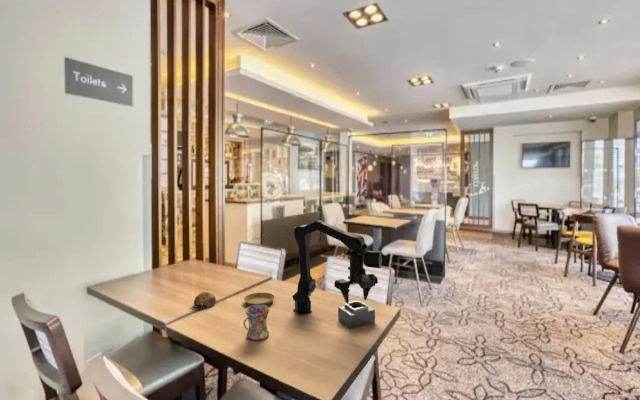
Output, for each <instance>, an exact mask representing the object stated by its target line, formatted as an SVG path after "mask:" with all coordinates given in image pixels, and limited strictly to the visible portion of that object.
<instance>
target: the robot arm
mask: <svg viewBox="0 0 640 400" xmlns="http://www.w3.org/2000/svg"><path fill="white" fill-rule="evenodd" d="M316 231H318V232H320V233H323V234H325V235H327V236H328V237H331V238H333V239H335V240H337V241H340V242H341V243H342V244H344V246H345V247H346V248H348V249H347V251H345V253H344V255H345V256H349V266H348V267H347V270H349V276H347V280H346V279H344V278H340V279H335V281H334V282H333V285H334V288H336V289H337V290H339V291H340V292H341V295H342V297H343V298H344V299H343V300H344V301H345V303H347V304H348V303H349V298H350V296H349V293H350V291H351V290H350V289H349V288H350V286H353V285H359V287H360V289H362V292H363V300H365V301H366V300H367V298H368V296H369V293H370V291H371V289H372V288H373V287H375V286H376V285H377V284H379V279H378V277H377V276H376V275H375V274H374V273H366V272H367V270H366V268H373V269H381V268H382V264H383V258H382V253H381V251H380V250H376V251H375V250H374V251H373V250H370V248H369V247H368V245H367V244H366V243H365V238H364V237H363V235H360V234H356V233H352V232H348V231H347V232H346V231H344V230H342V229H340V228H338V227H335V226H334V225H331V224H329V223H327V222H325V221H324V220H321V219H319V220H315V221H313V222H311V223H310V224H301V225H299V226H296V227H295V228H294V230H293V235H294V239H295V242H296V244H297V246H298V258H299V259H298V260H299V261H298V262H299V275H300V276H299V280H298V283H297V291H296V292H295V293H294V294H293V295H292V300H293V301H294V308H293V311H294V312H295V313H296V314H297V315H299V316H300V315H305V314H310V313H312V301H311V298H310V296H312V293H313V292H315V289H316V288H317V286H316V278H313V277H312V275H311V260H310V259H311V258H310V242H311V239H312V233H313V232H316ZM364 266H365V267H366V268H365V267H364Z"/></svg>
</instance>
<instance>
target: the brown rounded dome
mask: <svg viewBox="0 0 640 400" xmlns="http://www.w3.org/2000/svg"><path fill="white" fill-rule="evenodd" d="M216 300H217V299H216V296H215V294H213V293H212V292H210V291H202V292H199V293H198V295H196V296H195V298H194V300H193V305H194V307H195V306H196V307H199V308H198V309H201V308H200V307H208V308H210V307H209V306H211V307H213V306H214V305H215V304H216ZM212 305H213V306H212ZM196 307H195V308H196Z"/></svg>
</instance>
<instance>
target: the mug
mask: <svg viewBox="0 0 640 400" xmlns="http://www.w3.org/2000/svg"><path fill="white" fill-rule="evenodd" d="M244 312H245V315H246V318H245V319H244V320H243V323H242V324H243V327H244V328H245V330H247V333H246V338H248V339H250V340H256V341H257V340H258V341H259V340H262V339H265V338H267V337H268V336H269V335H270V331H269V329H268V326H267V320H268V315H269V312H270V307H269V305H266V306H265V305H253V306H250V305H249V306H248V307H247V308H245V310H244ZM247 320H248V321H247ZM246 322H248V327H247V326H246Z"/></svg>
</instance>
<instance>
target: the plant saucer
mask: <svg viewBox="0 0 640 400" xmlns="http://www.w3.org/2000/svg"><path fill="white" fill-rule="evenodd" d="M274 299H275V295H274V294H273V293H270V292H253V293H249V294H248V295H245V296H244V297H243V300H244V302H245V303H246V304H248V306H249V307H250V306H253V305H265V306H269V305H270V304H271V303H272V302H273V301H274Z"/></svg>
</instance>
